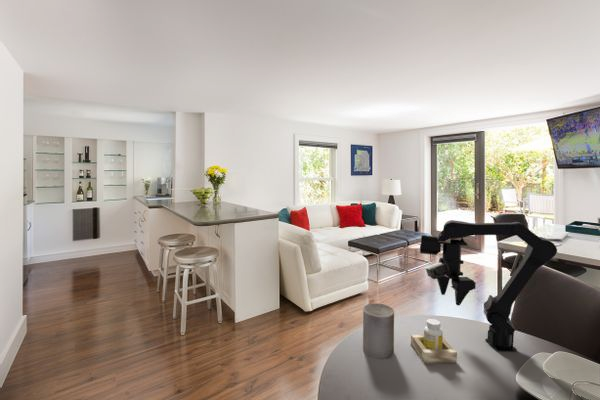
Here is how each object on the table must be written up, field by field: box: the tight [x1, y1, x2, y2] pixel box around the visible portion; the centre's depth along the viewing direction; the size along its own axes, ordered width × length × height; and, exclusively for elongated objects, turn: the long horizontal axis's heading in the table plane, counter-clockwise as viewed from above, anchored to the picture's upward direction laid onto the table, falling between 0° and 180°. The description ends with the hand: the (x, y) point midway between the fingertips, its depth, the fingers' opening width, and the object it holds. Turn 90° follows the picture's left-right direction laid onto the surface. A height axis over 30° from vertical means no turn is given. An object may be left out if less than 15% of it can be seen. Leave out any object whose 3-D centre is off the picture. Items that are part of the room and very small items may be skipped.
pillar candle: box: [362, 302, 395, 360], centre depth 94 cm, size 10×10×15 cm
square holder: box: [410, 334, 458, 364], centre depth 93 cm, size 10×10×3 cm
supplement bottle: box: [423, 318, 444, 350], centre depth 93 cm, size 5×5×10 cm
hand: (450, 299), depth 104 cm, fingers open, 9 cm apart
